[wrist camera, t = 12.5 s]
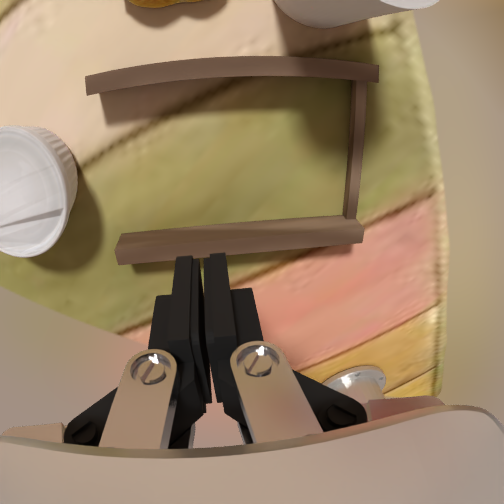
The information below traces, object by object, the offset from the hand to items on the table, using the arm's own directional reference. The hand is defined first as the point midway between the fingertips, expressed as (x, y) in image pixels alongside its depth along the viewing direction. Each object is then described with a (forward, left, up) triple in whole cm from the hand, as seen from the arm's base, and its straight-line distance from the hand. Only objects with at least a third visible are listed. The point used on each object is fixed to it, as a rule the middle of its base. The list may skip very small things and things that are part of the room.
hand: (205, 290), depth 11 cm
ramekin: (+1, +16, -18) cm, 24 cm away
